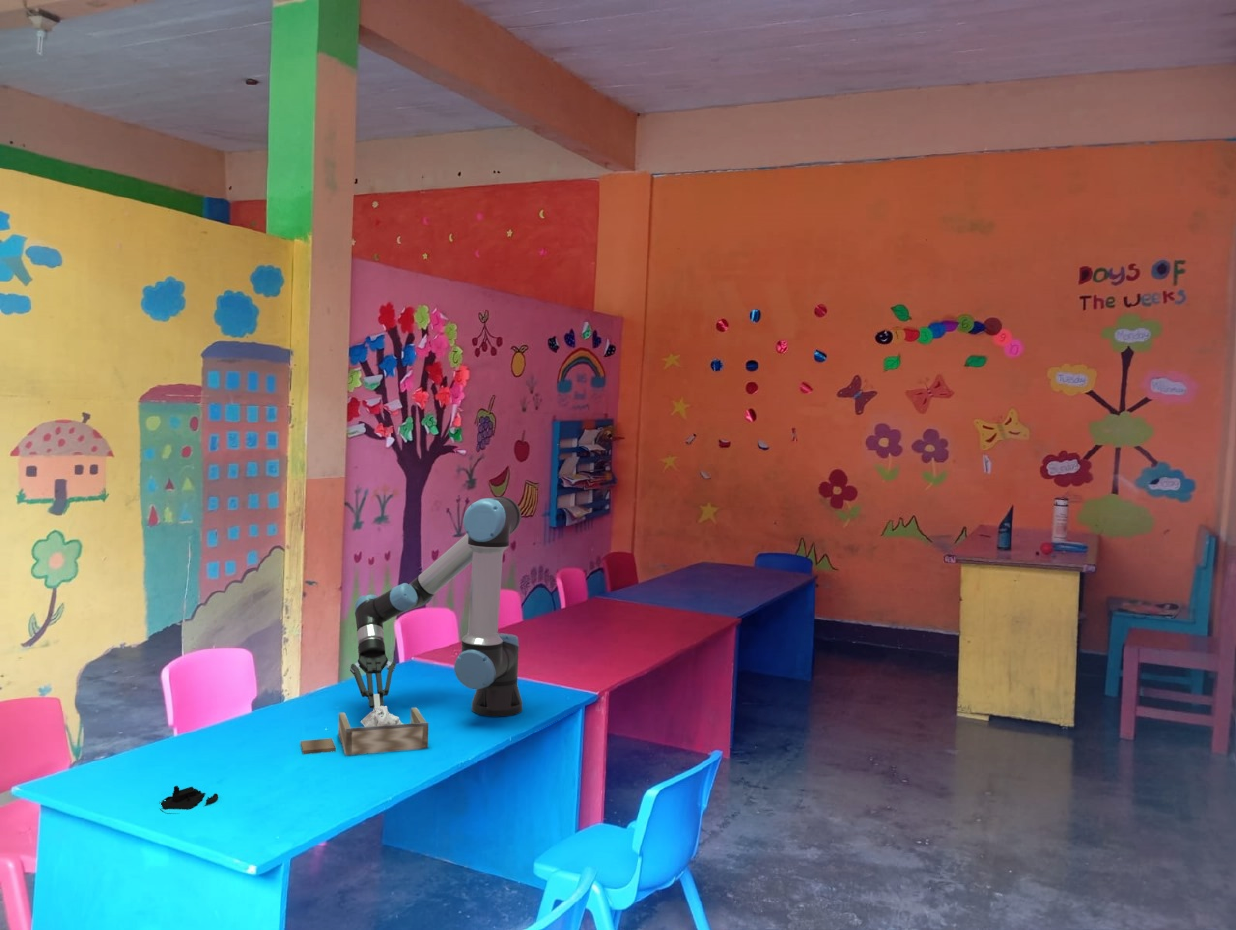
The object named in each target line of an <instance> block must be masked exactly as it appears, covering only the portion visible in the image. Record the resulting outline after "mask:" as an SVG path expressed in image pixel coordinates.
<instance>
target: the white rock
mask: <svg viewBox="0 0 1236 930" xmlns="http://www.w3.org/2000/svg"><path fill="white" fill-rule="evenodd" d="M388 709H389V708H388V706H387V705H385V706H384V705H383V706H380V707H379V706H377V707H376V709H374V710H372V711H370V712H369V713H368V714H367V715H366V716H364V718H363V719H362V720H361V721H360V723H361V724H362V725H363V727H371V726H384V725H397V724H404V722H403V721H401V720H400V717H399V716H397V715H394V714H393V713H390V712H389V710H388Z"/></svg>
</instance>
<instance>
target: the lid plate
mask: <svg viewBox="0 0 1236 930" xmlns="http://www.w3.org/2000/svg"><path fill="white" fill-rule="evenodd" d="M300 747H301V751H302V754H303V755H309V754H310V753H312V754H321V752H323V753H332V752H333V751H335V752H336V751H337V750H336V748H337V747H336V745H335V741H334V740H333V738H320V739H308V740H300ZM331 751H332V752H331ZM310 755H311V754H310Z"/></svg>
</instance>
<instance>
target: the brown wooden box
mask: <svg viewBox="0 0 1236 930" xmlns="http://www.w3.org/2000/svg"><path fill="white" fill-rule="evenodd" d="M337 730H338V734H337V735H338V737H340V738H339V740H340V744H341V743H342V744H341V747H342V746H343V747H342V749H343V752H344V755H345V756H354V755H355V754H356V755H366V754H367V753H368V754H376V753H389V752H390V753H391V752H399V751H400V752H402V751H413V750H414V751H415V750H423V749H424V750H426V748H427V749H428V748H429V722H428V721H427V722H426V720H425V718H424V717H423V715H422V714H421V712H420V710H419V709H418V708H417V707H411V709H410V723H403V724H397V725H384V726H371V727H365V726H359V727H351V725H350V723H349V720H348V717H347V715H346V713H345V712H338V729H337Z"/></svg>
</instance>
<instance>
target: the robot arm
mask: <svg viewBox="0 0 1236 930" xmlns="http://www.w3.org/2000/svg"><path fill="white" fill-rule="evenodd" d="M521 521H522V513H521V509H520V507H519V505H518V504H517V502H515V500H513V499H512V498H509V497H507V496H506V497H505V496H496V497H489V498H488V497H487V498H485V497H484V498H481V499H478V500H477V501H475V502H472V503H471V504H470V506H468V507H467V509H466V511H465V512H464V515H463V522H462V523H463V528H464V531H465V534H464V536H462V537H461V538H460V539H459V540H458V541H457V542H456V543H454V544H453V545H452V546H451V547H450V548H448V550H446V551H445V552H444V553H443V554H442V555H440V557H439V558H437V559H436V560H435V561H433V563H432V564H431V565H429V566H428V567H427V568H426V569H425V570H424V571H422V572H421V573H420V574H419V575H418V576H417V577H415V578H414V579H413V580H412V581H411V582H409V584H408V583H407V582H403V583H401V584H398V585H396V586H394V587H393V588H392V589H389V590H388V591H386V592H384V593H383V594H381V595H379V596H377V595H375V594H366V595H361V596H360V597H358V599H357V600H356V601H355V606H354V609H355V610H354V616H355V623H356V624H355V625H356V636H357V649H358V651H357V652H358V660H357V662H355V663H352V664H350V669H349V671H350V672H351V673H352V674H353V676H354V678H355V682H356V685H357V687H358V690H359V693H360V695H361V697H362V698H365V697H366V698H367V700H368V708H369V709H373V710H374V709H376V707H377V706H379V707H380V706H384V704H385V701H384V697H385V696H386V697H387V696H388V695H389V694H390V688H391V682H392V676H393V672H394V671H395V669H396V666H397V663H396V661H391V660H389V658H388V656H387V655H386V645H385V635H384V623H385V622H387V621H389V620H391V619H393V618H395V617H397V616H399V615H400V614H403V613H405V612H408V611H411V610H413V609H416V608H420V607H423V606H425V605H427V604H428V603H430V602H431V601H432V600H433V597H434V595H436V594H437V593H438V592H439V591H440V590H441V589H443V588H444V587H445V586H446V585H447V584H449V583H450V581H451V580H453V579H454V578H455V577H456V576H458V575H459V574H460V573H462V572H463V571H464V570H465V569H467V567H468V566H469V565H471V575H470V576H471V577H470V591H469V592H470V594H469V606H468V607H469V608H468V621H467V623H468V625H467V626H468V627H467V633H466V634H465V635H464V636H462V638H461V646H460V647H461V651H460V653H459V655H458V656H457V657H456V659H455V661H454V667H453V669H454V673H455V676H456V678H457V680H458V681H459V682H460V683H461V684H462V685H463V687H466V688H467V689H471V690H476V691H475V693H474V695H473V698H472V701H471V711H472V712H473V713H474V712H475V713H474V714H476V713H477V715H479V714H480V716H484V715H486V716H485V717H494V716H500V717H509V716H510V717H511V716H515V715H517V714H520V713H521V712H522V711H523V700H522V696H521V692H520V689H519V686H518V677H519V676H518V674H519V651H520V650H519V649H520V645H519V637H518V636H517V635H515V634H512V633H510V634H509V633H501V632H499V619H500V605H501V603H500V602H501V601H500V600H501V590H502V589H501V588H502V575H503V574H502V573H503V570H502V569H503V559H504V558H503V557H504V551H505V550H507V549H508V548H509V546H510V535H511V534H513V533H514V532H516V531H517V530H518V528H519V526H520V524H521ZM385 667H386V669H387V670H388V671H387V675H386V681H385V686H383V680H382V679H383V677H382V672H383V670H384V669H385ZM360 669H361V670H362V671H363V672H364V673H365V677H366V684H367V687H366V684H365V682H364V679H363V677H362V674H361V671H360ZM373 674H375V682H376V683H375V684H376V691H377V692H376V693H375V692H374V684H373V683H374V680H373ZM383 687H384V688H383ZM373 710H372V711H373Z"/></svg>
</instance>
